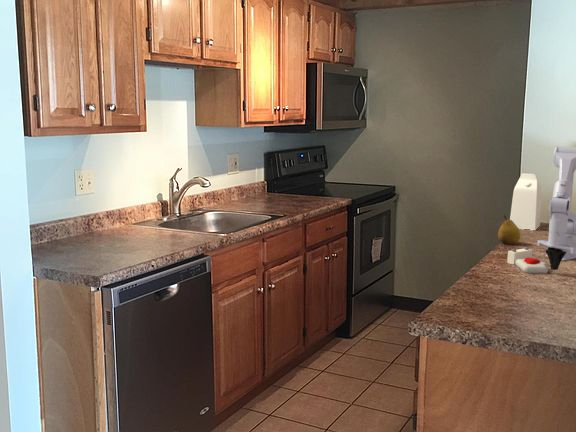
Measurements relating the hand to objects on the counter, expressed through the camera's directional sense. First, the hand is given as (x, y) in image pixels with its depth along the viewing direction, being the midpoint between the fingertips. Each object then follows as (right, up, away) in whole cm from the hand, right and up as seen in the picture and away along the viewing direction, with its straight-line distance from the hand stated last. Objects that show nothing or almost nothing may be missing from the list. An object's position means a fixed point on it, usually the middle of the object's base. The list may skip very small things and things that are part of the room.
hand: (554, 269), depth 227 cm
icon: (-5, -1, +6) cm, 8 cm away
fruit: (0, +7, +47) cm, 48 cm away
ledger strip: (-7, +1, +15) cm, 17 cm away
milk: (+20, +13, +83) cm, 86 cm away
